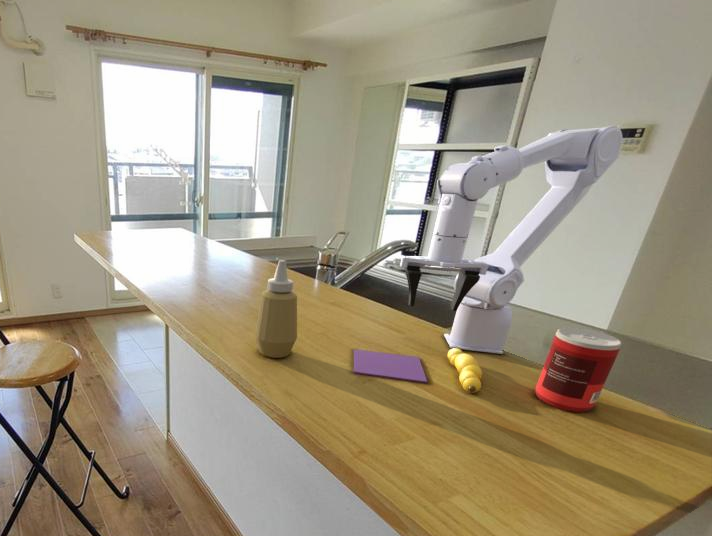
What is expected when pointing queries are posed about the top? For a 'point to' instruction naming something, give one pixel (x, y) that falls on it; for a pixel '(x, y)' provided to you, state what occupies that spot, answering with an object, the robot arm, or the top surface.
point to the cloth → (388, 365)
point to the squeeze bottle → (277, 316)
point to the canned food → (577, 368)
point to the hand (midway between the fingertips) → (431, 307)
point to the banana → (466, 370)
